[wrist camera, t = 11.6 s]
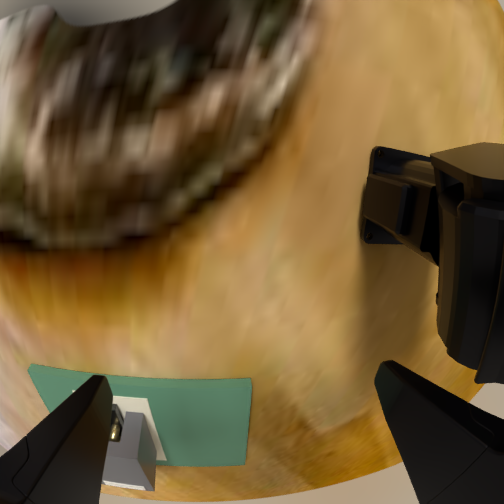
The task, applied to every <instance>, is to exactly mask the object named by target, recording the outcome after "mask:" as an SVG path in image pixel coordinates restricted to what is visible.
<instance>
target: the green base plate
mask: <svg viewBox="0 0 504 504" xmlns="http://www.w3.org/2000/svg"><path fill="white" fill-rule="evenodd" d="M27 371H28V373H29V375H30V377H31V379H32V381H33V383H34V385H35V387H36V389H37V391H38V393H39V394H40V396H41V398H42V400H43V402H44V403H45V405H46V407H47V409H48V410H49V412H50V413H51V412H52V411H53V410H54V409H55V408H57V407H58V406H59V405H60V404H61V403H62V402H63V401H64V400H65V399H67V398H68V397H69V396H70V395H71V394H72V393H73V392H74V391H75V390H77V389H78V388H79V387H80V386H81V385H82V384H83V383H84V382H85V381H87V380H88V379H89V378H90V377H91V376H92V375H95V374H94V373H86V372H79V371H71V370H65V369H58V368H52V367H47V366H41V365H36V364H31V365H30V367H29V369H28V370H27ZM96 375H103V374H96ZM104 376H106V377H107V379H108V382H109V385H110V387H111V390H112V393H113V404H117V405H118V408H119V410H120V413H121V415H122V418H123V420H124V419H125V414H126V411H128V412H139V413H144V416H145V419H146V422H147V425H148V428H149V431H150V434H151V437H152V439H153V442H154V445H155V448H156V450H157V458H156V465H167V466H199V467H204V466H237V465H245V459H246V449H247V438H248V427H249V416H250V405H251V393H252V384H251V379H250V378H242V379H157V378H139V377H125V376H113V375H104ZM110 428H111V427H110Z"/></svg>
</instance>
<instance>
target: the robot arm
mask: <svg viewBox="0 0 504 504" xmlns="http://www.w3.org/2000/svg"><path fill="white" fill-rule="evenodd" d="M378 151H380V152H381V156H380V157H378ZM363 215H364V217H363V224H362V230H361V239H362V240H363V241H364V242H366V243H368V244H404V245H406V246H407V247H409V248H411V249H412V250H414V251H415V252H417V253H418V254H420V255H421V256H423V257H425V258H426V259H428V260H429V261H431V262H432V263H434V264H435V265H437V266H438V267H439V277H438V292H437V294H436V304H437V306H438V309H437V320H436V321H437V328H438V334H439V336H440V337H441V339H442V341H443V343H444V344H445V346H446V347H447V354H448V355H449V356H450V357H452V358H453V359H454V360H455V361H457V362H458V363H460V364H462V365H464V366H466V367H468V368H471V369H474V370H477V373H476V376H475V379H474V381H475V383H477V384H482V383H500V384H504V144H497V143H485V142H482V143H477V144H472V145H467V146H463V147H458V148H454V149H449V150H445V151H440V152H436V153H432V154H430V157H427V156H423V155H418V154H414V153H410V152H405V151H401V150H396V149H392V148H387V147H381V146H376V147H374V148H373V149H372V152H371V162H370V171H369V176H368V177H367V183H366V191H365V199H364V206H363ZM368 233H370V236H369V237H368V238H367V234H368ZM374 383H375V387H376V390H377V394H378V397H379V400H380V403H381V406H382V410H383V413H384V416H385V419H386V421H387V424H388V426H389V429H390V431H391V433H392V436H393V438H394V440H395V443H396V445H397V448H398V450H399V452H400V455H401V457H402V460H403V462H404V465H405V467H406V470H407V472H408V475H409V477H410V480H411V483H412V485H413V488H414V490H415V493H416V496H417V498H418V501H419V503H420V504H504V419H501V418H499V417H497V416H494V415H492V414H490V413H488V412H485V411H483V410H481V409H480V408H478V407H476V406H474V405H472V404H470V403H468V402H466V401H465V400H463V399H461V398H459V397H457V396H456V395H454V394H452V393H450V392H448V391H447V390H445V389H443V388H441V387H439V386H438V385H436V384H434V383H432V382H430V381H429V380H427V379H425V378H423V377H422V376H420V375H418V374H416V373H415V372H413V371H411V370H409V369H407V368H406V367H404V366H402V365H400V364H399V363H397V362H395V361H393V360H388V361H383V362H382V363H381V364H380V366H379V368H378V371H377V374H376V376H375V380H374ZM112 405H113V393H112V390H111V387H110V385H109V382H108V379H107V377H106V376H104V375H96V374H95V375H92V376H91V377H90V378H89V379H88V380H87V381H85V382H84V383H83V384H82V385H81V386H80V387H79V388H78V389H77V390H75V391H74V392H73V393H72V394H71V395H70V396H69V397H68V398H67V399H65V400H64V401H63V402H62V403H61V404H60V405H59V406H58V407H57V408H55V409H54V410H53V411H52V412H51V413H50V414H49V415H48V416H47V417H45V418H44V419H43V420H42V421H41V422H40V423H39V424H38V425H37V426H36V427H34V428H33V429H32V430H31V431H30V432H29V433H28V434H27V436H24V437H23V438H22V439H21V440H20V441H19V442H18V443H17V444H16V445H14V446H13V447H12V448H11V449H10V450H9V451H7V452H6V453H5V454H4V455H2V456H1V457H0V504H99V497H100V490H101V484H102V477H103V471H104V465H105V460H106V454H107V449H108V444H109V437H110V426H111V414H112Z"/></svg>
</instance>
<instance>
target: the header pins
mask: <svg viewBox="0 0 504 504" xmlns="http://www.w3.org/2000/svg"><path fill="white" fill-rule="evenodd" d="M123 424H124V420H123V418H122V415H121V413H120V410H119V408H118V405H117V404H113V405H112V414H111V426H110V427H111V432H110V437H109V441H112V442H120V440H121V434H122V429H123Z"/></svg>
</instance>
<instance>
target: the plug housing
mask: <svg viewBox="0 0 504 504" xmlns="http://www.w3.org/2000/svg"><path fill="white" fill-rule="evenodd" d="M110 432H111V428H110ZM156 458H157V450H156V448H155V445H154V442H153V439H152V437H151V434H150V431H149V428H148V425H147V422H146V419H145V416H144V413H139V412H128V411H126V414H125V419H124V424H123V429H122V434H121V440H120V442H112V441H109V444H108V449H107V454H106V460H105V465H104V471H103V477H102V484H105V485H110V486H116V487H123V488H130V489H137V490H146V491H155V473H156Z"/></svg>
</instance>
